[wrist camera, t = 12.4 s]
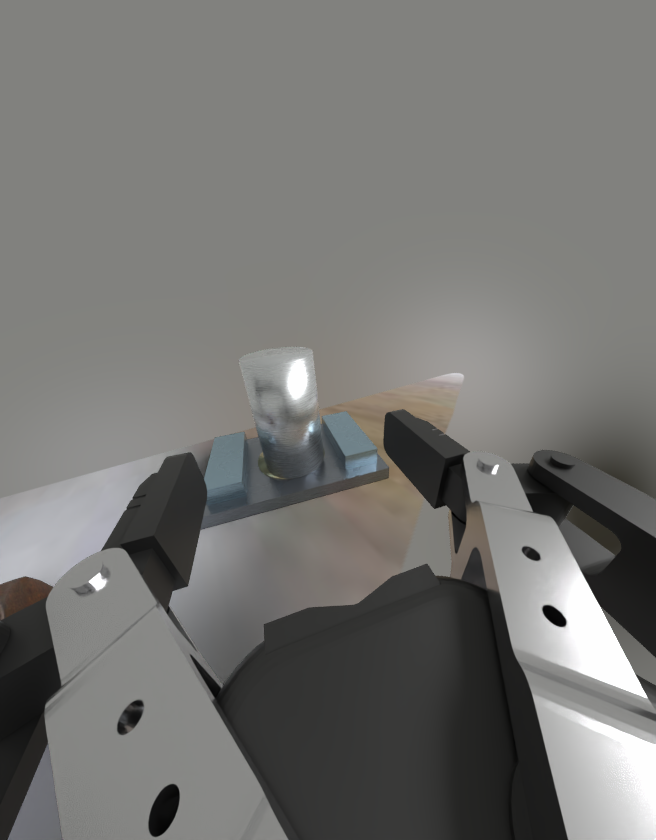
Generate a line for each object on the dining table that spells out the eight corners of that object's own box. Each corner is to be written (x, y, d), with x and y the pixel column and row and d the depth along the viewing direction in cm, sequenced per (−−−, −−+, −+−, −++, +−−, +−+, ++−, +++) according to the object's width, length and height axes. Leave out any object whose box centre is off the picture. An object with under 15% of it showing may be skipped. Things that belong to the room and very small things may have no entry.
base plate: (200, 529, 18) (187, 503, 17) (216, 455, 26) (209, 434, 25) (388, 477, 21) (390, 453, 20) (349, 426, 30) (348, 406, 28)
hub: (268, 485, 20) (236, 369, 15) (264, 446, 25) (240, 351, 20) (331, 469, 21) (320, 357, 16) (314, 435, 26) (303, 343, 21)
